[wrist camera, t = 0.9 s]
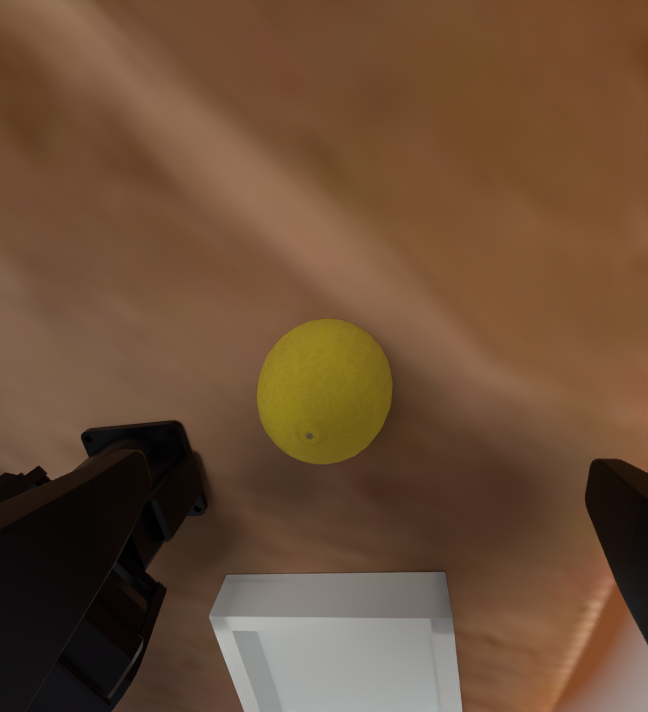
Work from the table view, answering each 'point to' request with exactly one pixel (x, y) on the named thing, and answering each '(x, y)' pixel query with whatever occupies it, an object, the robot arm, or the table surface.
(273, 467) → the table surface
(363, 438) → the lemon
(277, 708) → the dish
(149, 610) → the robot arm
